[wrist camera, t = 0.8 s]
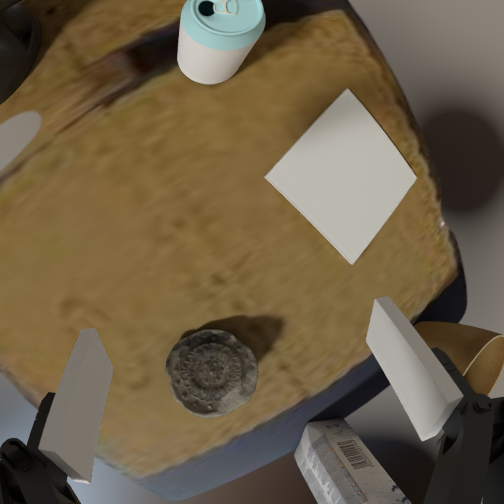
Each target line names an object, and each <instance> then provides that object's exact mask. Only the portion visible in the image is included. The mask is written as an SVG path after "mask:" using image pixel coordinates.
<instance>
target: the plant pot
mask: <svg viewBox="0 0 504 504" xmlns="http://www.w3.org/2000/svg"><path fill="white" fill-rule="evenodd" d="M413 327H414V329H415V330H416V331H417V332H418V334H419V335H420V336H421V338H422V339H423V340H424V342H425V343H426V344H427V346H428V347H429V348H430V349H432V348H435V347H438V348H439V349H441V350H442V351H444V352H445V353H446V354H447V355H448V356H449V358H450V359H451V360H452V363H454V364H455V366H456V367H457V370H459V371H460V372H461V374H462V375H463V376H464V378H465V379H466V380H467V382H468V383H469V385H470V386H471V387H472V389H473V390H474V391H475V392H476V394H477V393H480V394H484V395H487V396H488V395H489V394H490V392H491V391H492V389H493V388H494V386H495V384H496V382H497V381H498V379H499V377H500V374H501V372H502V370H503V367H504V335H502V334H499V333H495V332H492V331H488V330H485V329H480V328H477V327H473V326H468V325H462V324H456V323H448V322H435V321H422V322H419V323H417V324H416V325H414V326H413Z"/></svg>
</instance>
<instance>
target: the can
mask: <svg viewBox="0 0 504 504" xmlns="http://www.w3.org/2000/svg"><path fill="white" fill-rule="evenodd" d="M264 27H265V13H264V9H263V4H262V2H261V0H187V2H186V3H185V5H184V7H183V9H182V13H181V21H180V31H179V43H178V56H177V59H178V64H179V67H180V69H181V71H182V72H183V73H184V74H185V75H186V76H187V77H188V78H190V79H191V80H193V81H195V82H198V83H202V84H217V83H221V82H223V81H226V80H227V79H229V78H230V77H232V76H233V75H234V74H235V73H236V71H237V70H238V68H239V67H240V65H241V64H242V62H243V61H244V59H245V58H246V56H247V55H248V53H249V52H250V50H251V49H252V47H253V46H254V44H255V43H256V41H257V40H258V38H259V37H260V35H261V34H262V32H263V30H264Z"/></svg>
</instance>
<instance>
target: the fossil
mask: <svg viewBox="0 0 504 504" xmlns="http://www.w3.org/2000/svg"><path fill="white" fill-rule="evenodd" d="M165 372H166V374H167V375H168V377H169V379H170V385H171V391H172V394H173V396H174V398H175V400H176V401H177V402H179V403H181V404H182V405H183V406H184V408H185V409H186V410H187V411H188V412H190V413H191V414H193V415H195V416H198V417H202V418H212V417H220V416H223V415H225V414H227V413H230V412H232V411H234V410H235V409H236V408H239V407H241V406H243V405H244V404H245V403H247V402H248V401H249V400H250V399H251V397H252V395H253V393H254V391H255V388H256V385H257V379H258V364H257V360H256V358H255V356H254V354H253V352H252V351H251V349H250V347H249V346H247V345H246V344H244V343H242V342H241V341H240V340H238V339H237V338H236V337H235V336H234V335H233V334H231V333H229V332H228V331H224V330H220V329H204V330H200V331H197V332H195V333H194V334H192V335H190V336H187V337H185V338H184V339H181V340H180V341H179V342H178V343H177V344H176V345H175V346H174V347H173V349H172V350H171V352H170V354H169V356H168V358H167V361H166V370H165Z"/></svg>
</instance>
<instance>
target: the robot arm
mask: <svg viewBox="0 0 504 504" xmlns="http://www.w3.org/2000/svg"><path fill="white" fill-rule="evenodd" d="M20 1H22V0H0V104H1V103H2V102H4V101H5V100H6V99H7V98H8V97H9V96H10V95H11V94H12V93H13V92H14V91H15V90H16V89H17V87H18V86H19V85H20V84H21V82H22V81H23V79H24V78H25V77H26V75H27V73H28V72H29V70H30V68H31V66H32V64H33V62H34V60H35V58H36V55H37V52H38V49H39V46H40V40H41V27H40V23H39V21H38V19H37V18H36V16H35V15H34V14H33V13H32V11H31V10H30V9H28V8H27V7H25V6H24V5H21V4H18V2H20ZM366 342H367V344H368V346H369V347H370V349H371V351H372V352H373V354H374V356H375V357H376V359H377V361H378V363H379V364H380V366H381V368H382V370H383V371H384V373H385V375H386V377H387V378H388V380H389V382H390V384H391V385H392V387H393V389H394V391H395V392H396V394H397V396H398V398H399V400H400V401H401V403H402V405H403V407H404V409H405V411H406V412H407V414H408V416H409V418H410V420H411V422H412V423H413V425H414V427H415V429H416V431H417V433H418V435H419V437H420V439H421V440H422V441H424V440H426V439H429V438H431V437H433V436H435V435H437V433H438V432H439V431H440V430H441V428H443V430H444V431H445V433H444V434H443V435H442V437H441V438H440V439H439V441H438V442H437V444H436V446H438V445H439V444H440V443H441V446H440V450H439V454H438V458H437V461H436V465H435V468H434V472H433V475H432V479H431V482H430V485H429V488H428V491H427V494H426V497H425V500H424V503H423V504H481V501H482V496H483V504H504V397H500V398H493V399H490V398H489V397H488V396H487V395H484V394H480V393H477V394H476V392H475V391H474V390H473V389H472V387H471V386H470V385H469V383H468V382H467V380H466V379H465V378H464V376H463V375H462V374H461V372H460V371H459V370H457V367H456V366H455V364H454V363H452V360H451V359H450V358H449V356H448V355H447V354H446V353H445V352H444V351H442V350H441V349H439V348H438V347H435V348H432V349H430V348H429V347H428V346H427V344H426V343H425V342H424V340H423V339H422V338H421V336H420V335H419V334H418V332H417V331H416V330H415V329H414V327H413V326H412V325H411V323H410V322H409V321H408V320H407V318H406V317H405V316H404V315H403V313H402V312H401V311H400V310H399V308H398V307H397V306H396V305H395V303H394V302H393V301H392V300H391V299H390V297H389V296H385V297H380V298H375V301H374V306H373V311H372V315H371V320H370V324H369V329H368V333H367V337H366ZM113 371H114V368H113V366H112V364H111V362H110V360H109V358H108V356H107V353H106V351H105V349H104V347H103V344H102V342H101V340H100V338H99V335H98V333H97V331H96V329H82V330H81V332H80V334H79V337H78V339H77V341H76V344H75V346H74V348H73V351H72V353H71V355H70V358H69V360H68V363H67V365H66V368H65V370H64V373H63V376H62V378H61V381H60V383H59V386H58V389H57V392H56V393H51V392H48V394H47V395H46V396H45V397H44V399H43V400H42V401H41V404H40V407H39V409H38V413H37V415H36V418H35V419H36V420H35V421H34V424H33V427H32V430H31V433H30V436H29V439H28V442H27V446H26V445H25V444H24V443H23V442H22V441H20V440H19V439H17V438H11V439H8V440H6V441H5V442H4V443H3V444H2V446H1V447H0V459H1V460H0V504H81V503H80V501H79V500H78V498H77V496H76V495H75V493H74V492H73V490H72V488H71V486H70V485H69V484H68V482H67V476H69V477H70V478H71V479H73V480H74V481H77V482H83V483H88V484H90V483H91V477H92V470H93V464H94V458H95V453H96V447H97V442H98V437H99V432H100V427H101V422H102V417H103V413H104V408H105V404H106V399H107V395H108V391H109V387H110V382H111V378H112V375H113Z"/></svg>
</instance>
